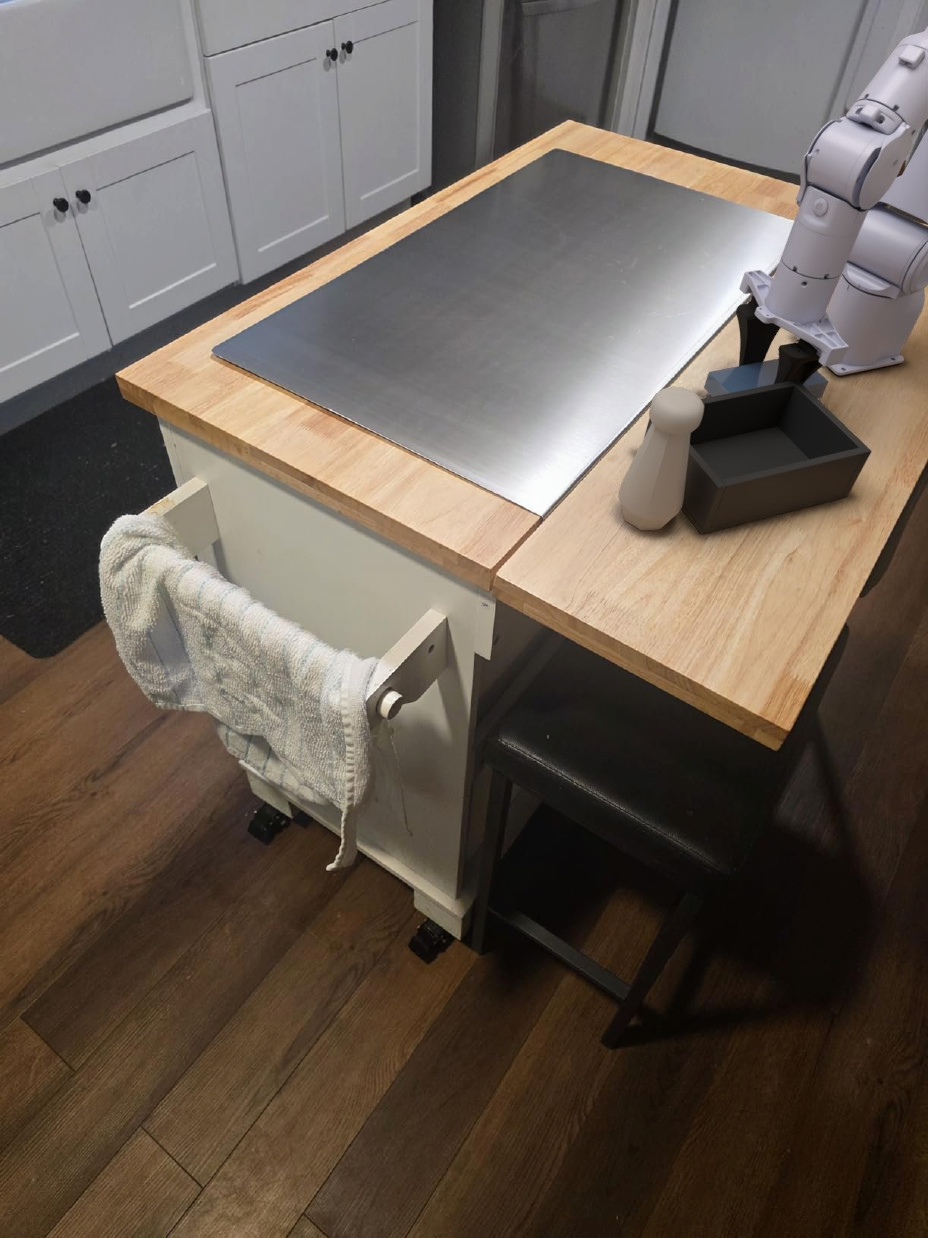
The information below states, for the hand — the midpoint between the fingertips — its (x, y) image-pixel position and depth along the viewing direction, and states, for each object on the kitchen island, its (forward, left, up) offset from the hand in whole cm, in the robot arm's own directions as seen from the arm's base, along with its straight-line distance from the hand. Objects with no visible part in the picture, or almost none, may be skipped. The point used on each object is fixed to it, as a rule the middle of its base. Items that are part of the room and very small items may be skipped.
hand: (762, 387), depth 92 cm
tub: (+9, +10, -2) cm, 13 cm away
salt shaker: (+21, +12, -2) cm, 24 cm away
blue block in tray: (0, 0, -2) cm, 2 cm away
